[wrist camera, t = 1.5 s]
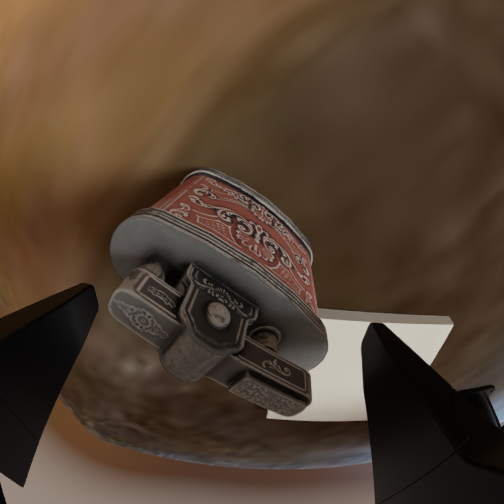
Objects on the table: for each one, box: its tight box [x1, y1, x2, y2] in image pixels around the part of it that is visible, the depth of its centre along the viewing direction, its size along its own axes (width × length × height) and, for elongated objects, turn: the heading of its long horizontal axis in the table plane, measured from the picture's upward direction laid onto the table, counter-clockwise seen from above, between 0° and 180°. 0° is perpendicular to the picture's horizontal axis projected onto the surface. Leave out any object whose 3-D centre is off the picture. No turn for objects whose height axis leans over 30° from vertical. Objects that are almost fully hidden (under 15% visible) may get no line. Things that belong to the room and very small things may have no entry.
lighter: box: [108, 167, 328, 417], centre depth 11 cm, size 8×3×10 cm, turn 53°
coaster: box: [267, 308, 454, 421], centre depth 19 cm, size 12×12×1 cm
